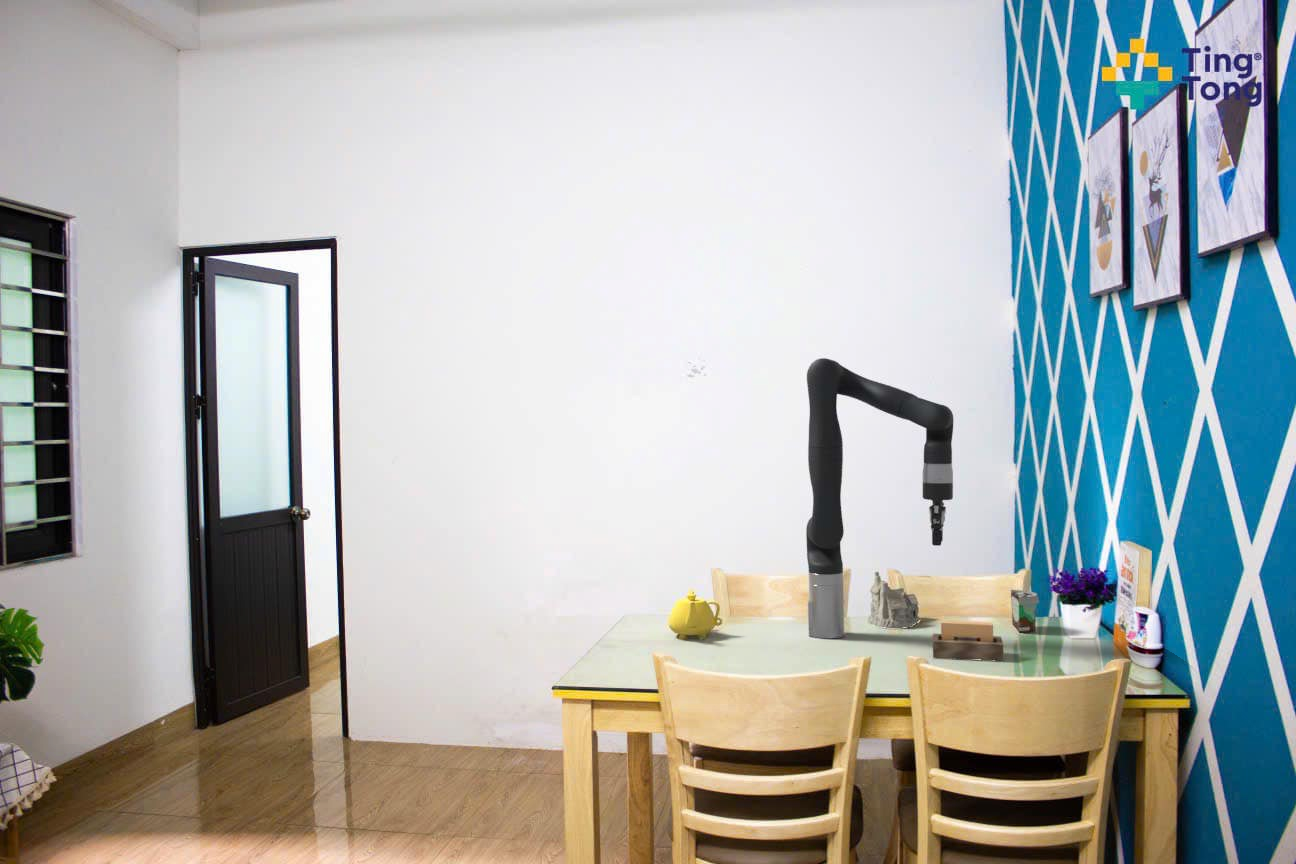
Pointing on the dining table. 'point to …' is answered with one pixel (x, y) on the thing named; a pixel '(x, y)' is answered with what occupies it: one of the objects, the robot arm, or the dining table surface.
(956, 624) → the tan u-shaped block
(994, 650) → the brown slotted wooden block
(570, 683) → the dining table surface
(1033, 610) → the food container
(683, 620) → the teapot
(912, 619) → the ceramic cottage
